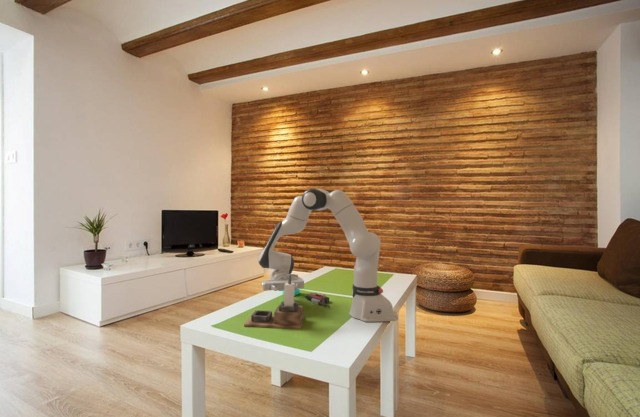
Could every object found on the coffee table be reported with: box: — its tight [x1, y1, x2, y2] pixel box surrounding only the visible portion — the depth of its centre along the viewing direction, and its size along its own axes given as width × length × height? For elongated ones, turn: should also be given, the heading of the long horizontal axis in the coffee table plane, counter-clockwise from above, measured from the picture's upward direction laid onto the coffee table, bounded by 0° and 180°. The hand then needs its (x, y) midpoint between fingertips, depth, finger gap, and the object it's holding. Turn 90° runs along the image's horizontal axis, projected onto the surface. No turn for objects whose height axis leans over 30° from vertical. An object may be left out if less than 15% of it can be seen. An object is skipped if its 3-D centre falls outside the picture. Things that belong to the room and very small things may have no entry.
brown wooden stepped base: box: [243, 301, 305, 330], centre depth 140 cm, size 24×13×8 cm, turn 86°
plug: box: [283, 274, 296, 307], centre depth 139 cm, size 4×5×15 cm
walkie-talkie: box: [305, 292, 331, 308], centre depth 169 cm, size 9×4×20 cm
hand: (285, 288), depth 148 cm, fingers open, 8 cm apart
